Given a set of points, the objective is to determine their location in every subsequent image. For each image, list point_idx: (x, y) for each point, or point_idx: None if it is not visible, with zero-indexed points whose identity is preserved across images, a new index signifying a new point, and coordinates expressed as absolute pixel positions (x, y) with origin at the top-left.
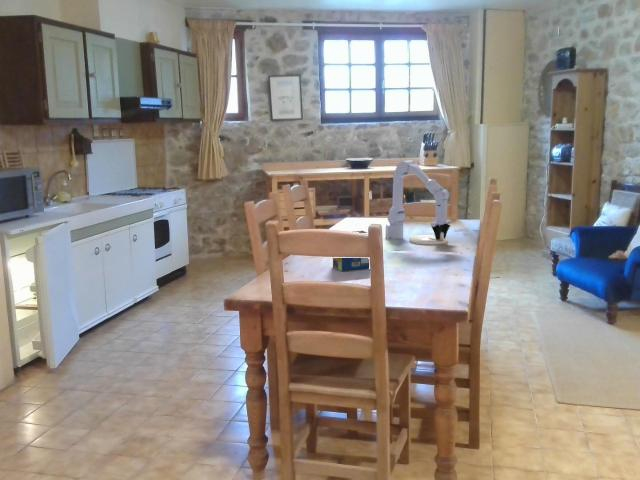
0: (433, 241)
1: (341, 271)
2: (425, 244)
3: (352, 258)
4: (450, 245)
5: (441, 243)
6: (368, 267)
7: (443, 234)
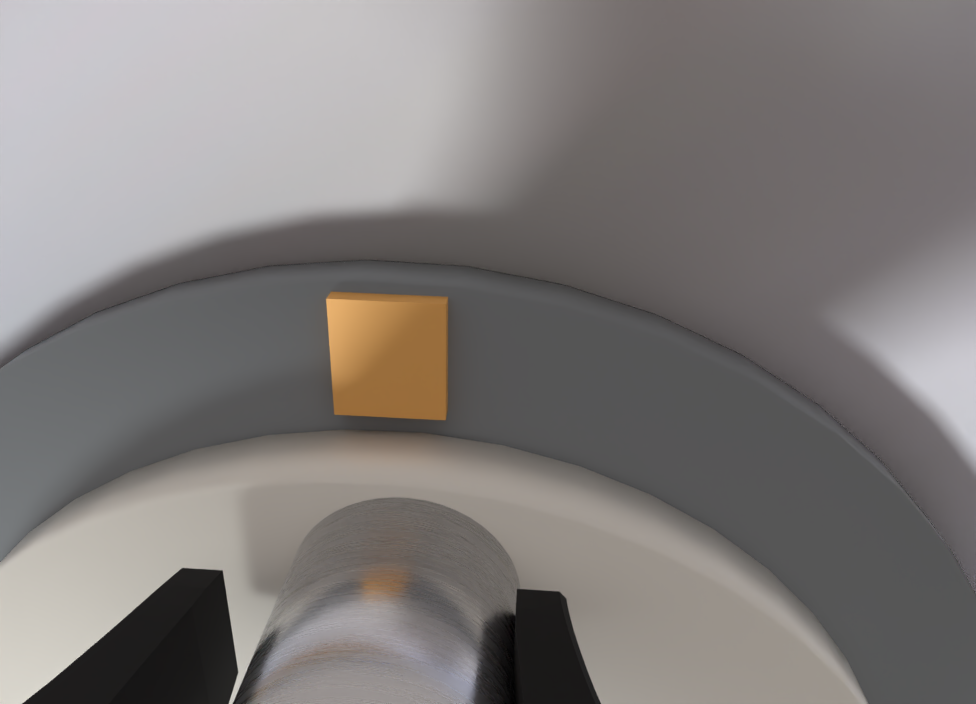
0: (680, 652)
1: None
2: (863, 694)
3: None
4: None
5: (489, 457)
6: None
7: (313, 686)
